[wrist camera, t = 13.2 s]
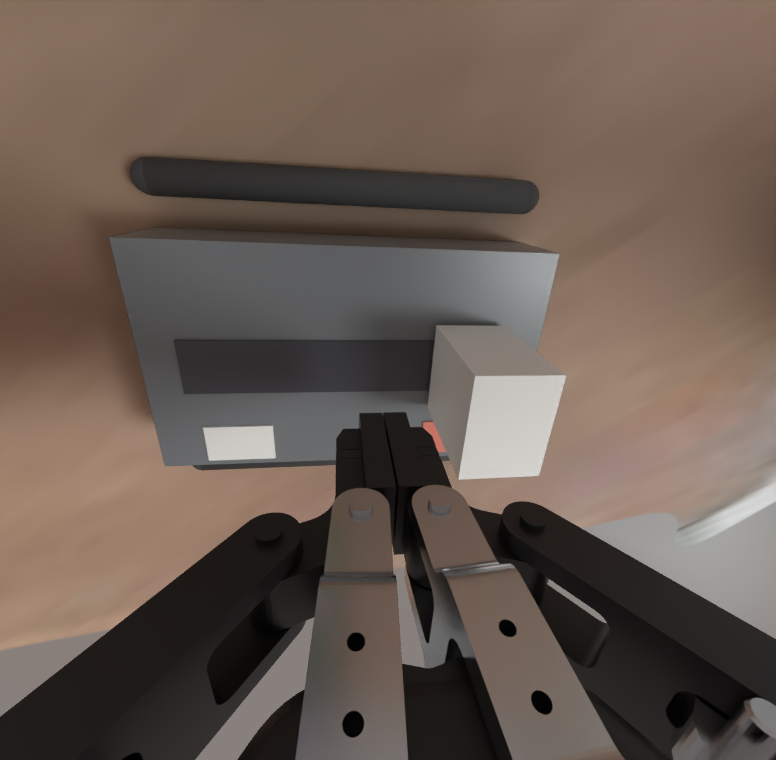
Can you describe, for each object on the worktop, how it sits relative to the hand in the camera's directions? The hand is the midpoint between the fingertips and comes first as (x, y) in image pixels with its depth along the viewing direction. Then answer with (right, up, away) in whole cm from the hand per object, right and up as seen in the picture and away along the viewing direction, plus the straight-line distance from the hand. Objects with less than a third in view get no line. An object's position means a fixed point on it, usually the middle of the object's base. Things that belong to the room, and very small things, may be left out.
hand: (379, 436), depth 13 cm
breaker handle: (+4, +2, +5) cm, 6 cm away
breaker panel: (-2, +4, +8) cm, 9 cm away
